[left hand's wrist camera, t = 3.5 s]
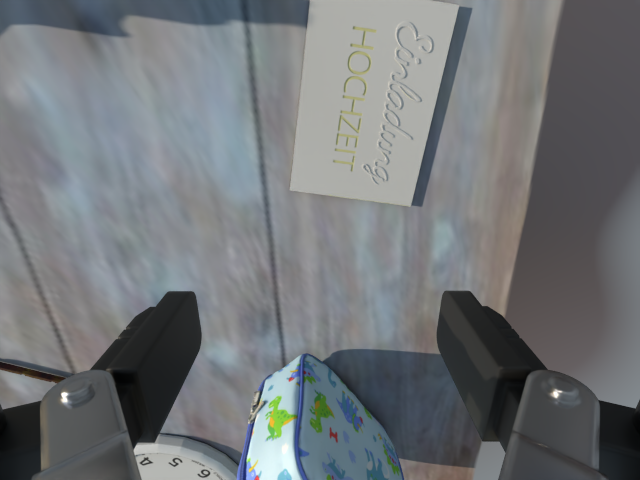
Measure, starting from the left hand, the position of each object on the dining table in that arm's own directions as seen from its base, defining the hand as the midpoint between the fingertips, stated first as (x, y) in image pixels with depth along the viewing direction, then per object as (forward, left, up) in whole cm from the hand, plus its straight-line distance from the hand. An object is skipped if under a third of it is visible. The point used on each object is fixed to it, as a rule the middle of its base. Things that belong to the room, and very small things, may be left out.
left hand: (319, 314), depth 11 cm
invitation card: (-8, 0, -32) cm, 33 cm away
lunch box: (+29, +25, -32) cm, 50 cm away
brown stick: (+52, -14, -32) cm, 62 cm away
